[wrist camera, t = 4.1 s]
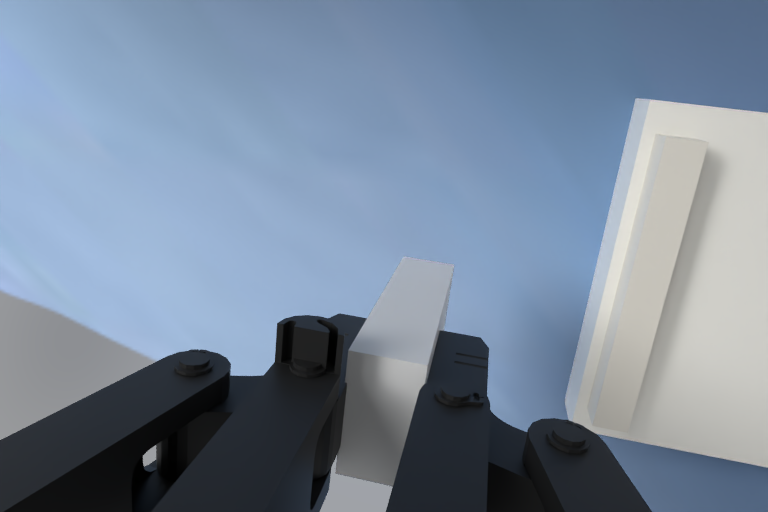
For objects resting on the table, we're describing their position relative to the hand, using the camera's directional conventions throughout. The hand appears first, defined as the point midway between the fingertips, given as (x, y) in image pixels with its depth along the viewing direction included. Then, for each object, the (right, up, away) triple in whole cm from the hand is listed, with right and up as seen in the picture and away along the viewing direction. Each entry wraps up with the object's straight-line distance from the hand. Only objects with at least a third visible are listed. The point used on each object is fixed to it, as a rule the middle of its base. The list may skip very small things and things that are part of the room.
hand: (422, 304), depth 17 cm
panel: (+13, 0, +4) cm, 13 cm away
